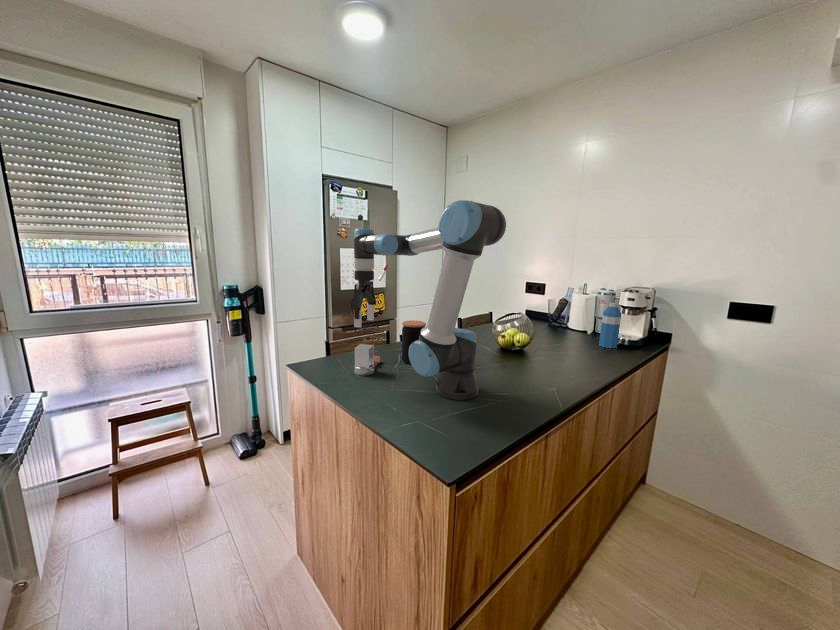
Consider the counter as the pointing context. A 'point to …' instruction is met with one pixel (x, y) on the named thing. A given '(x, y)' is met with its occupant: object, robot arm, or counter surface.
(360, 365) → the silver metal block
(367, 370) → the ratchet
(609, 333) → the water bottle
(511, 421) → the counter surface
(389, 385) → the counter surface
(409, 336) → the coffee jar
